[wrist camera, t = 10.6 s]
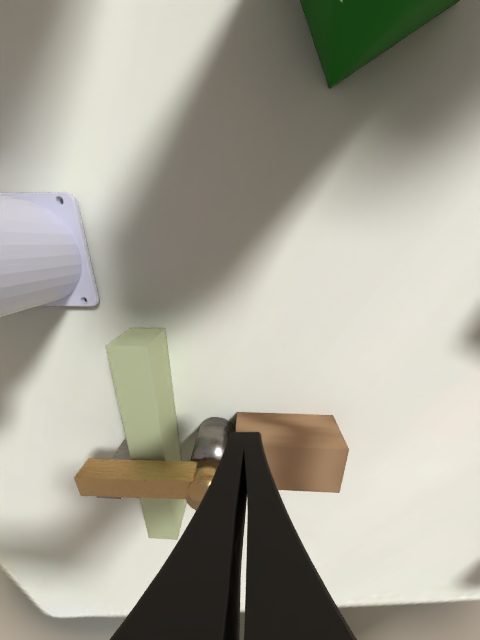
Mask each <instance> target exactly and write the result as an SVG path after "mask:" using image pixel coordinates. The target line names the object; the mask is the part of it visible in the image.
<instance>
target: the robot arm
mask: <svg viewBox="0 0 480 640" xmlns="http://www.w3.org/2000/svg"><path fill="white" fill-rule="evenodd" d="M61 198H62V199H63V204H61ZM84 297H85V298H86V299H87V302H86V301H85V300H84ZM98 303H99V297H98V292H97V288H96V283H95V278H94V274H93V269H92V265H91V260H90V256H89V251H88V247H87V242H86V237H85V233H84V228H83V224H82V219H81V215H80V210H79V206H78V201H77V199H76V197H75V196H74V195H73V194H70V193H66V192H48V193H0V317H3V316H7V315H10V314H13V313H17V312H20V311H23V310H26V309H30V308H33V307H36V306H95V305H97V304H98ZM247 499H248V528H247V567H246V600H245V633H244V640H357V639H356V638H355V636H354V635H353V633H352V631H351V630H350V628H349V626H348V624H347V623H346V621H345V619H344V618H343V616H342V615H341V613H340V611H339V609H338V608H337V606H336V604H335V602H334V601H333V599H332V597H331V595H330V594H329V592H328V590H327V588H326V586H325V585H324V583H323V581H322V579H321V577H320V576H319V574H318V572H317V570H316V569H315V567H314V565H313V563H312V561H311V559H310V558H309V556H308V554H307V552H306V550H305V548H304V546H303V544H302V542H301V540H300V538H299V536H298V534H297V532H296V530H295V528H294V526H293V524H292V522H291V519H290V517H289V515H288V513H287V511H286V508H285V506H284V504H283V501H282V499H281V497H280V494H279V492H278V489H277V487H276V484H275V482H274V479H273V476H272V473H271V471H270V468H269V465H268V462H267V458H266V455H265V452H264V448H263V443H262V438H261V433H259V432H231V433H230V434H229V438H228V441H227V444H226V447H225V450H224V453H223V455H222V458H221V460H220V463H219V465H218V467H217V470H216V472H215V474H214V476H213V479H212V481H211V483H210V485H209V487H208V489H207V491H206V493H205V495H204V497H203V499H202V501H201V503H200V505H199V507H198V509H197V510H196V512H195V514H194V516H193V518H192V519H191V521H190V523H189V525H188V526H187V528H186V530H185V531H184V533H183V535H182V536H181V538H180V540H179V541H178V543H177V544H176V546H175V548H174V549H173V551H172V552H171V554H170V556H169V557H168V559H167V560H166V562H165V563H164V565H163V566H162V568H161V569H160V571H159V572H158V574H157V575H156V577H155V578H154V580H153V581H152V582H151V584H150V585H149V587H148V588H147V590H146V591H145V592H144V594H143V595H142V597H141V598H140V599H139V601H138V602H137V604H136V605H135V607H134V608H133V609H132V611H131V612H130V613H129V615H128V616H127V618H126V619H125V620H124V622H123V623H122V624H121V626H120V627H119V628H118V629H117V631H116V632H115V633H114V635H113V636H112V637H111V639H110V640H239V631H240V628H239V627H240V581H241V560H242V548H243V536H244V524H245V512H246V500H247Z"/></svg>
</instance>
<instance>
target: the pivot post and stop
mask: <svg viewBox="0 0 480 640" xmlns="http://www.w3.org/2000/svg"><path fill="white" fill-rule="evenodd" d="M231 432H235V428H234V426H233V425H232V424H231V423H230V422H229V421H228V420H226V419H223V418H219V417H213V418H209V419H206V420H205V421H203V422H202V424H201V425H200V428H199V432H198V435H197V439H196V442H195V446H194V450H193V453H192V457H191V461H193V462H198V461H199V460H202V459H206V458H211V459H216V460H218V461H220V460H221V458H222V455H223V453H224V450H225V447H226V444H227V441H228V438H229V434H230V433H231ZM113 459H121V460H131V457H130V452H129V448H128V444H127V439H126V438H125V440H124V442H123V443H122V445H121V446H120V448H119V449H118V451H117V453H116V454H115V456H114V457H113ZM97 498H114V499H121V497H109V496H97Z"/></svg>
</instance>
